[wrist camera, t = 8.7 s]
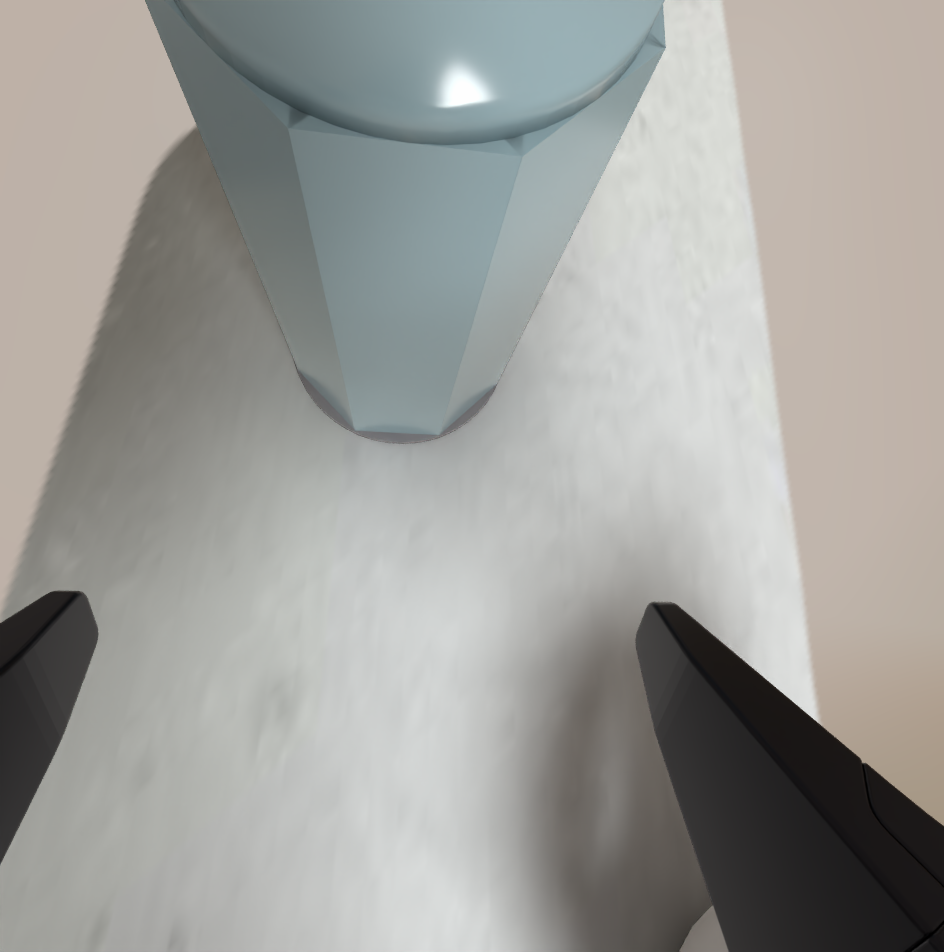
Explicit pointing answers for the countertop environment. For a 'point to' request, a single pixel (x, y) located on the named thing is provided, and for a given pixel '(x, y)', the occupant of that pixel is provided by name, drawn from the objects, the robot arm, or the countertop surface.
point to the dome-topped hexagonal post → (408, 172)
